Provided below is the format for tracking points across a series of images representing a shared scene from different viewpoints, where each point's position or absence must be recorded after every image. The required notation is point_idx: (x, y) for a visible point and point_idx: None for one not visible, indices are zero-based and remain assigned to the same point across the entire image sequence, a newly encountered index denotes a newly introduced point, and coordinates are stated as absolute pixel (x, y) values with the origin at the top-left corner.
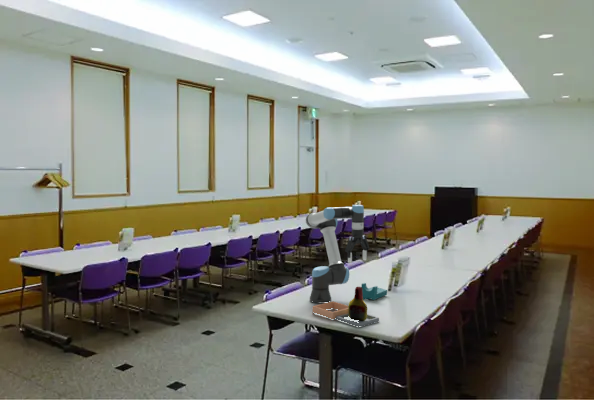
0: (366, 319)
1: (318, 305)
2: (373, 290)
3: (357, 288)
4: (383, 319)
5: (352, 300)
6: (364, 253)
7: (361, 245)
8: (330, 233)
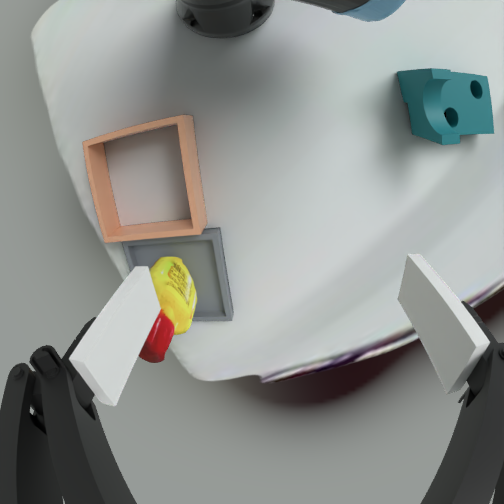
0: (206, 290)
1: (101, 141)
2: (432, 135)
3: (138, 355)
4: (261, 306)
5: None
6: (439, 342)
7: (465, 457)
8: None
